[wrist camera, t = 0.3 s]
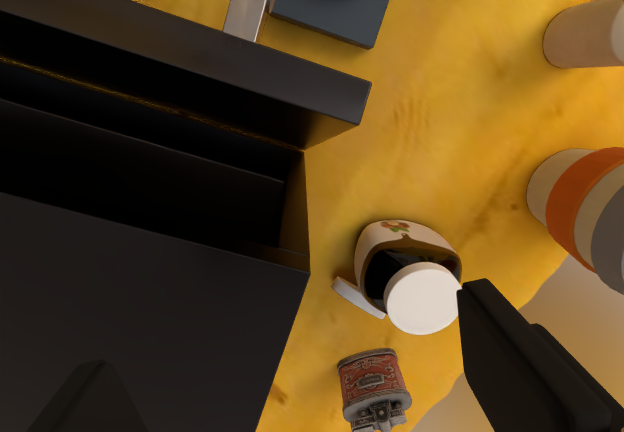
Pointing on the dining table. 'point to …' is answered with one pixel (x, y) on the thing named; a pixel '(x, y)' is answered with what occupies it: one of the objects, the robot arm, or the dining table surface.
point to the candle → (587, 36)
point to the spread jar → (405, 276)
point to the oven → (143, 255)
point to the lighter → (373, 391)
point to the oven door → (187, 65)
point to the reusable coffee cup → (584, 207)
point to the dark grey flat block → (336, 18)
